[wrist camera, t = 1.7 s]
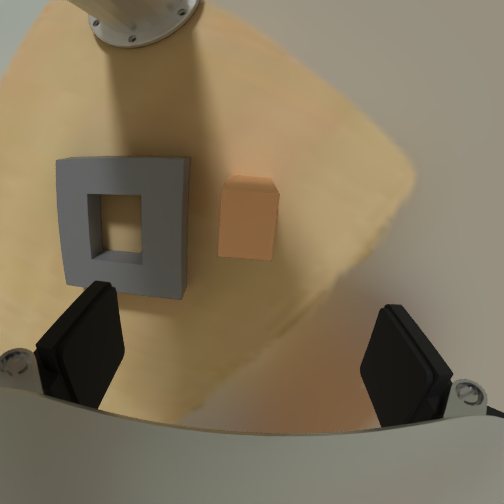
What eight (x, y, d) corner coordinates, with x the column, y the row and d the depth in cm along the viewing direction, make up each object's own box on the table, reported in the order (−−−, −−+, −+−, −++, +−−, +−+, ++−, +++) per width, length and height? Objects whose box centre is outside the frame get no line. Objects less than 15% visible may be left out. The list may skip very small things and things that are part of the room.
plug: (230, 174, 29) (221, 188, 21) (271, 178, 29) (279, 193, 21) (226, 223, 31) (217, 256, 23) (266, 227, 31) (271, 260, 23)
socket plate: (70, 157, 28) (55, 160, 25) (190, 157, 29) (184, 159, 26) (78, 273, 33) (66, 284, 30) (186, 286, 34) (181, 299, 31)
